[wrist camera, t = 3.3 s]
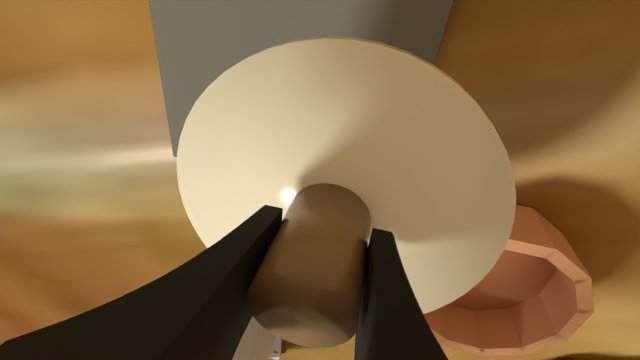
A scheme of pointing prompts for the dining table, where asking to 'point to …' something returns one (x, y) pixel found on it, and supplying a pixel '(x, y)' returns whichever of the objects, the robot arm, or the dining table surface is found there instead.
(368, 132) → the lid
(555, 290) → the brown rounded ring
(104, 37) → the dining table surface
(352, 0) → the mat
